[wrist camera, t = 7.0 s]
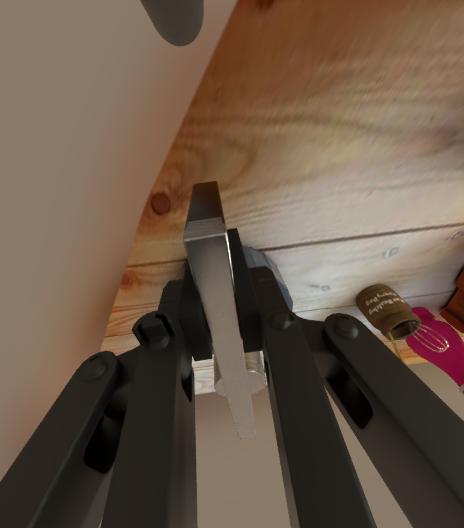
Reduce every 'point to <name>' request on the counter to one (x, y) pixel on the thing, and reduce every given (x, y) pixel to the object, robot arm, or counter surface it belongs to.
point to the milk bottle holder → (456, 307)
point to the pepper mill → (439, 346)
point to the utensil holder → (390, 314)
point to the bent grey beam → (221, 305)
